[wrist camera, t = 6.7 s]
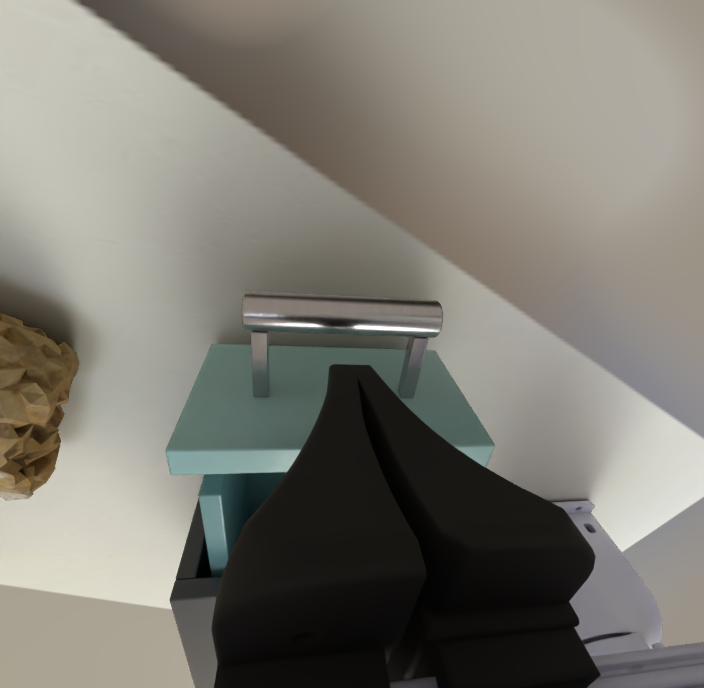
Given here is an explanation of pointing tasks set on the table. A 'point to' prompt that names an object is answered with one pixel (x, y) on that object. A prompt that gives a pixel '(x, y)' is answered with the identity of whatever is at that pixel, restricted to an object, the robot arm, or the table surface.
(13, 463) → the tan lumpy rounded piece
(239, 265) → the table surface
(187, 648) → the compartment
